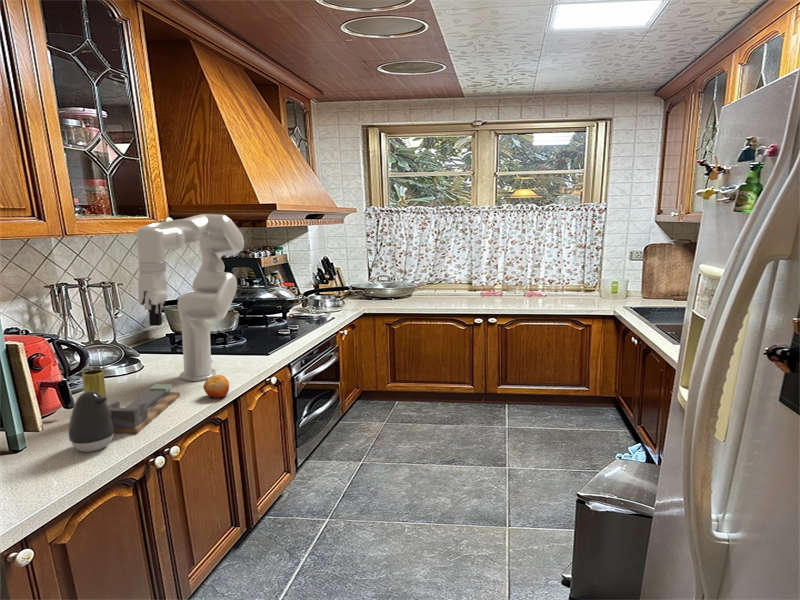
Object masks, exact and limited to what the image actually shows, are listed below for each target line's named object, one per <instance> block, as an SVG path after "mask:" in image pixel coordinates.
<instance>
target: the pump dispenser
mask: <svg viewBox="0 0 800 600" xmlns="http://www.w3.org/2000/svg"><path fill="white" fill-rule="evenodd" d="M106 400H108V398H107V396H106V397H102V396H101V395H100V394H99V393H97V392H95V391H88V392H85V393H84V392H82V393H81V394H80V395H79V396H78V397H77V399H76V401H75V403H74V405H73V408H72V411H71V414H70V420H69V424H68V425H69V426H68V440H69V441H70V442H71V445H72V446H73V447H74V448H75V449H76V450H77V451H80V452H85V453H91V452H96V451H99V450H103V448H106V447H107V446H108V445H109V444H110V443H111V442H112V441H113V440H112V439H113V438H114V435H115V434H114V432H115V424H114V420H113V417H112V414H111V411H110V409H109V407H108V406H109V405H108V402H107V403H106Z"/></svg>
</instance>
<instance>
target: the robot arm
mask: <svg viewBox="0 0 800 600" xmlns="http://www.w3.org/2000/svg"><path fill="white" fill-rule="evenodd" d="M197 241H199V247H200V248H199V249H200V253H201V257H202V262H201V265H200V267H199V269H198V271H197V272H196V275H195V277H194V279H193V281H192V291H193V292H187V293H184V294H182V295H181V296H180V297H179V298H178V300H177V309H178V313H179V319H180V323H181V334H182V336H181V338H182V353H183V354H182V355H183V357H182V359H183V371H182V372H180V373H179V379H181V380H183V381H185V382H186V381H188V382H198V381H199V382H200V381H206V380H208V379H209V378H210V377H212V376H217V371H216V369H214V368H212V364H213V360H212V353H211V352H212V351H211V347H212V346H211V329H210V325H209V324H208V323H207V321H206V320H211V321H212V320H214V321H215V320H216V321H217V320H218V321H219V320H222V319H224V318H225V317H226V316H227V314H228V313H229V309H230V307H231V305H232V302H233V300H234V298H235V296H236V292H237V290H238V288H237V287H238V280H237V278H236V276H235V275H234V274H233V273H231V272H227V271H225V267H226V266H225V264H224V261H223V260H222V258H221V257H220V256H219V254H221V253H222V254H223V253H224V254H238V253H241V252H242V251H243V249H244V247H245V239H244V236H243V234H242V232H241V231H240V229H239V228H238V226H237V225H236V224H235V223H234V221H233V220H232V219H231V218H230V217H228V216H227V215H225V214H216V213H215V214H214V213H202V214H197V215H193V216H189V217H186V218H181V219H180V218H179V219H174V220H173V219H172V220H168V221H167V220H165V221H159V222H153V223H150V224H146V225H143V226H141V227H140V228H138V229H137V230H136V245H137V258H138V260H137V261H138V273H139V275H138V282H137V285H138V286H137V288H138V291H137V292H138V293H137V294H138V296H137V298H138V304H139V305H141V306H143V305H144V310H147V313H148V319H149V326H153V327H154V326H155V327H159V326H161V325H163V318H162V317H163V315H162V312H163V305H165V302H166V301H167V299H168V285H167V278H166V273H167V264H166V263H167V262H166V251H177V250H179V249H181V248H182V247H183V246H184V244H189V243H194V242H197ZM218 253H219V254H218Z"/></svg>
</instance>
